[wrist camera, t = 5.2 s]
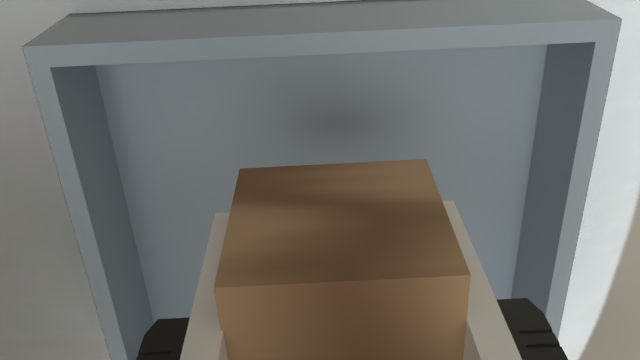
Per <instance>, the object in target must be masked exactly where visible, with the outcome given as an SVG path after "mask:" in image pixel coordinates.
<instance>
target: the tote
mask: <svg viewBox="0 0 640 360" xmlns="http://www.w3.org/2000/svg"><path fill="white" fill-rule="evenodd" d="M621 21H622V19H621V18H619V17H617V16H615V15H613V14H612V13H610V12H608V11H606V10H604V9H602V8H600V7H598V6H596V5H594V4H592V3H590V2H588V1H587V0H362V1H341V2H319V3H298V4H276V5H255V6H233V7H212V8H190V9H169V10H147V11H126V12H104V13H83V14H69V15H68V16H66V17H65V18H63V19H62V20H60V21H59V22H58V23H56V24H55V25H53V26H52V27H50V28H49V29H47V30H46V31H44V32H43V33H41V34H40V35H38V36H37V37H36V38H34V39H33V40H31V41H30V42H28V43H27V44H25V45H24V46H22V49H23V53H24V56H25V60H26V63H27V67H28V70H29V74H30V77H31V81H32V84H33V88H34V91H35V95H36V98H37V102H38V105H39V109H40V112H41V116H42V119H43V123H44V126H45V130H46V133H47V137H48V140H49V144H50V147H51V151H52V154H53V158H54V161H55V165H56V168H57V172H58V176H59V179H60V183H61V186H62V190H63V193H64V197H65V200H66V204H67V207H68V211H69V214H70V218H71V221H72V225H73V228H74V232H75V235H76V239H77V242H78V246H79V249H80V253H81V256H82V260H83V263H84V267H85V270H86V274H87V277H88V281H89V284H90V288H91V291H92V295H93V298H94V302H95V305H96V309H97V312H98V316H99V320H100V323H101V327H102V330H103V334H104V337H105V341H106V344H107V348H108V351H109V355H110V358H111V360H136V358H137V356H138V352H139V349H140V346H141V343H142V340H143V337H144V335H145V333H146V332H147V331H148V330H149V329H150V328H151V326H152V325H153V324H154V323H155V322H156V321H157V320H158V319H169V318H187V317H190V315H191V311H192V307H193V303H194V299H195V295H196V290H197V286H198V282H199V278H200V274H201V270H202V266H203V261H204V257H205V253H206V249H207V245H208V241H209V237H210V233H211V228H212V224H213V220H214V216H215V213H225V212H230V210H231V206H232V201H233V196H234V192H235V187H236V183H237V178H238V173H239V169H241V168H260V167H279V166H299V165H318V164H338V163H357V162H377V161H396V160H415V159H426V160H427V162H428V165H429V167H430V170H431V173H432V175H433V178H434V180H435V183H436V186H437V188H438V191H439V194H440V196H441V199H442V201H449V200H453V201H454V203H455V205H456V208H457V210H458V212H459V215H460V217H461V219H462V221H463V224H464V226H465V228H466V231H467V233H468V235H469V238H470V240H471V242H472V245H473V247H474V249H475V252H476V254H477V256H478V259H479V261H480V263H481V265H482V268H483V270H484V272H485V275H486V277H487V279H488V282H489V284H490V286H491V289H492V291H493V293H494V296H495V298H496V300H497V299H516V298H527V299H529V300H530V301H531V302H532V303H533V304H534V305H535V306H537V307H538V308H539V309H540V310H541V311H542V312H543V313H544V315H545V317H546V318H547V320H548V322H549V324H550V326H551V328H552V332H553V333H554V334H555V336H556V338H557V340H558V335H559V330H560V325H561V320H562V315H563V310H564V305H565V300H566V295H567V290H568V285H569V280H570V275H571V270H572V265H573V260H574V255H575V251H576V246H577V241H578V236H579V231H580V226H581V221H582V216H583V211H584V206H585V201H586V196H587V191H588V186H589V181H590V176H591V171H592V166H593V161H594V156H595V151H596V146H597V141H598V136H599V131H600V126H601V121H602V116H603V111H604V106H605V101H606V96H607V91H608V86H609V81H610V76H611V71H612V66H613V61H614V56H615V51H616V46H617V41H618V36H619V31H620V26H621Z"/></svg>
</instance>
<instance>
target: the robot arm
mask: <svg viewBox="0 0 640 360" xmlns="http://www.w3.org/2000/svg"><path fill="white" fill-rule="evenodd" d="M443 204H444V207H445V209H446V212H447V214H448V217H449V220H450V222H451V225H452V227H453V230H454V233H455V235H456V238H457V240H458V243H459V246H460V248H461V251H462V253H463V256H464V259H465V261H466V264H467V266H468V269H469V272H470V274H471V279H470V290H469V301H468V312H467V322H466V333H465V343H464V354H463V360H568V359H567V357H566V355H565V353H564V351H563V349H562V347H560V345H559V341H558V340H557V338H556V336H555V334H554V333H553V332H552V328H551V326H550V324H549V322H548V320H547V318H546V317H545V315H544V313H543V312H542V311H541V310H540V309H539V308H538V307H537V306H535V305H534V304H533V303H532V302H531V301H530V300H529V299H527V298H516V299H497V300H496V298H495V296H494V293H493V291H492V289H491V286H490V284H489V282H488V279H487V277H486V275H485V272H484V270H483V268H482V265H481V263H480V261H479V259H478V256H477V254H476V252H475V249H474V247H473V245H472V242H471V240H470V238H469V235H468V233H467V231H466V228H465V226H464V224H463V221H462V219H461V217H460V215H459V212H458V210H457V208H456V205H455V203H454V201H453V200H449V201H443ZM229 215H230V212H225V213H215V216H214V220H213V224H212V228H211V233H210V237H209V241H208V245H207V249H206V253H205V257H204V261H203V266H202V270H201V274H200V278H199V282H198V286H197V290H196V295H195V299H194V303H193V307H192V311H191V315H190V317H187V318H169V319H158V320H157V321H156V322H155V323H154V324H153V325H152V326H151V328H150V329H149V330H148V331H147V332H146V333H145V335H144V337H143V340H142V343H141V346H140V349H139V352H138V356H137V358H136V360H228V357H227V351H226V345H225V339H224V333H223V330H222V331H221V328H220V322H219V317H218V311H217V305H216V299H215V293H214V284H215V279H216V275H217V270H218V265H219V261H220V256H221V252H222V247H223V242H224V238H225V233H226V229H227V224H228V219H229Z"/></svg>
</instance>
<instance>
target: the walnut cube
mask: <svg viewBox="0 0 640 360" xmlns="http://www.w3.org/2000/svg"><path fill="white" fill-rule="evenodd" d="M470 279H471V274H470V272H469V269H468V266H467V264H466V261H465V259H464V256H463V253H462V251H461V248H460V246H459V243H458V240H457V238H456V235H455V233H454V230H453V227H452V225H451V222H450V220H449V217H448V214H447V212H446V209H445V207H444V204H443V201H442V199H441V196H440V194H439V191H438V188H437V186H436V183H435V180H434V178H433V175H432V173H431V170H430V167H429V165H428V162H427V160H426V159H415V160H396V161H377V162H357V163H338V164H318V165H299V166H279V167H260V168H241V169H239V173H238V178H237V183H236V187H235V192H234V196H233V201H232V206H231V210H230V215H229V219H228V224H227V229H226V233H225V238H224V242H223V247H222V252H221V256H220V261H219V265H218V270H217V275H216V279H215V284H214V293H215V299H216V305H217V311H218V317H219V322H220V328H221V331H222V330H223V333H224V339H225V345H226V351H227V357H228V360H463V354H464V343H465V333H466V322H467V312H468V301H469V290H470Z"/></svg>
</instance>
